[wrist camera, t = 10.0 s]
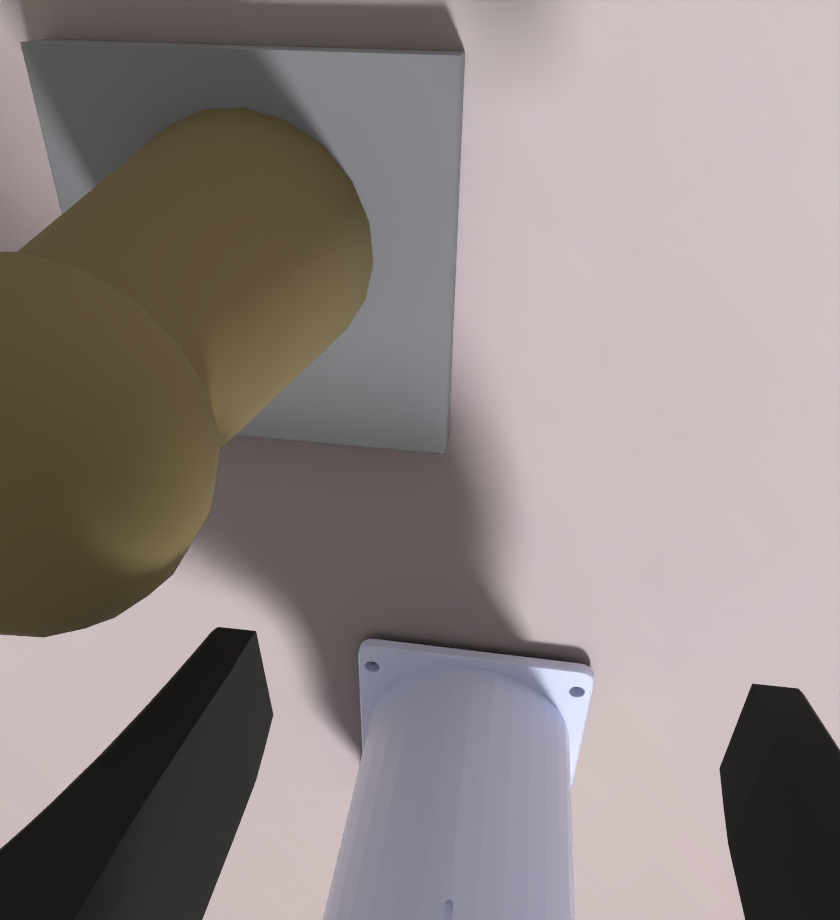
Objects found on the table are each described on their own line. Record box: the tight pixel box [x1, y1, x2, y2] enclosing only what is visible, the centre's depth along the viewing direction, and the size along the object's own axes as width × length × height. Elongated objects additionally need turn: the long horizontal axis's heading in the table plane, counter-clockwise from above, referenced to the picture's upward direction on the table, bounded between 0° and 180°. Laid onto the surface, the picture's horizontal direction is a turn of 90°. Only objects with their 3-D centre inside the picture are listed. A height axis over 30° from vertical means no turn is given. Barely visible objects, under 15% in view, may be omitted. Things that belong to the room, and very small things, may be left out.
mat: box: [20, 39, 465, 454], centre depth 18 cm, size 10×10×1 cm
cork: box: [0, 108, 373, 637], centre depth 13 cm, size 6×6×11 cm
